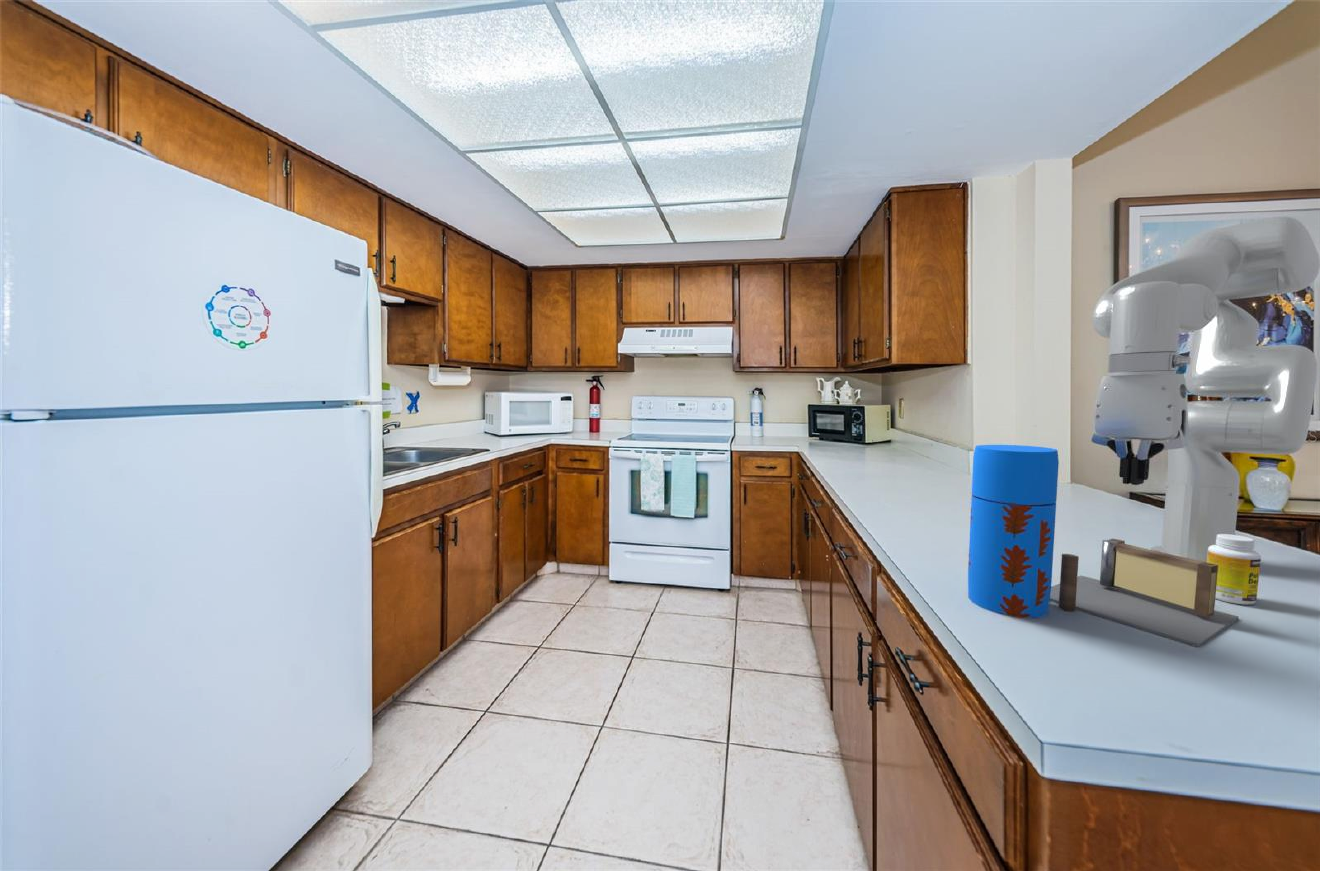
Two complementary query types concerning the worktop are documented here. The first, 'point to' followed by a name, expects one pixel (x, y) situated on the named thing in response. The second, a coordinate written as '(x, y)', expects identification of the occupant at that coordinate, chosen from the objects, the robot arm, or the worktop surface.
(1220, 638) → the worktop surface
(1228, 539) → the supplement bottle
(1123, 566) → the gate
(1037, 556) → the thermos
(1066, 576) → the gate frame
